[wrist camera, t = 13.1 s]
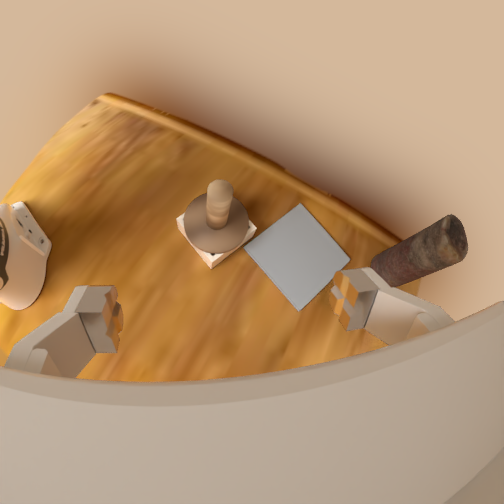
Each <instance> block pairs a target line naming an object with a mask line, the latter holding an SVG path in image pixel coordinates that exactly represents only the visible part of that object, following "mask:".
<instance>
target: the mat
mask: <svg viewBox="0 0 504 504" xmlns="http://www.w3.org/2000/svg"><path fill="white" fill-rule="evenodd" d="M244 249H245V250H246V252H247V253H248V254H249V255H250V256H251V257H252V259H253V260H254V261H255V262H256V263H257V264H258V266H259V267H260V268H261V269H262V270H263V271H264V272H265V274H266V275H267V276H268V277H269V278H270V279H271V281H272V282H273V283H274V284H275V285H276V286H277V287H278V289H279V290H280V291H281V292H282V293H283V294H284V296H285V297H286V298H287V299H288V300H289V301H290V302H291V304H292V305H293V306H294V307H295V308H296V309H297V310H298V311H300V310H301V309H302V308H303V307H304V306H305V305H306V304H307V303H309V302H310V301H311V300H312V299H313V298H314V297H315V296H316V295H317V294H318V293H319V292H320V291H321V290H322V289H323V288H324V287H325V286H326V285H327V284H328V283H329V282H330V281H331V279H332V278H333V277H334V274H335V272H336V271H340V270H341V269H342V268H343V267H344V266H345V265H346V264H347V263H348V262H349V261H350V259H349V257H348V256H347V255H346V254H345V253H344V251H343V250H342V249H341V248H340V247H339V246H338V244H337V243H336V242H335V241H334V240H333V239H332V237H331V236H330V235H329V234H328V233H327V232H326V231H325V230H324V228H323V227H322V226H321V225H320V224H319V223H318V222H317V221H316V219H315V218H314V217H313V216H312V215H311V214H310V213H309V212H308V211H307V210H306V208H305V207H304V206H303V205H302V204H301V203H300V204H299V205H297V206H296V207H295V208H294V209H292V210H291V211H290V212H288V213H287V214H286V215H284V216H283V217H282V218H281V219H279V220H278V221H277V222H275V223H274V224H273V225H271V226H270V227H269V228H268V229H266V230H265V231H264V232H262V233H261V234H260V235H259V236H257V237H256V238H255V239H253V240H252V241H251V242H249V243H248V244H247V245H246V246H244Z"/></svg>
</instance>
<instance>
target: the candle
mask: <svg viewBox="0 0 504 504" xmlns="http://www.w3.org/2000/svg"><path fill="white" fill-rule="evenodd" d="M467 251H468V243H467V238H466V234H465V230H464V227H463V225H462V223H461V221H460V220H459V219H458V218H457V217H456V216H454V215H452V214H451V215H447V216H445V217H444V218H442V219H441V220H439V221H437V222H436V223H434V224H432V225H431V226H429V227H427V228H425V229H423V230H422V231H420V232H418V233H417V234H415V235H413V236H411V237H409V238H408V239H406V240H404V241H402V242H400V243H398V244H397V245H395V246H393V247H391V248H389V249H387V250H385V251H383V252H382V253H380V254H378V255H376V256H375V257H374V258H373V259H372V262H371V268H372V269H373V270H374V271H375V272H376V273H377V274H378V275H379V276H380V277H381V278H382V279H383V280H384V281H385V282H386V283H387V284H388V285H389V286H390V287H391V288H392V287H397V286H400V285H403V284H406V283H408V282H411V281H413V280H416V279H419V278H421V277H424V276H426V275H429V274H431V273H434V272H436V271H439V270H442V269H444V268H446V267H449V266H451V265H454V264H456V263H458V262H461V261H462V260H463V259H464V258H465V256H466V254H467Z"/></svg>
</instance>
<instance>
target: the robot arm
mask: <svg viewBox="0 0 504 504" xmlns="http://www.w3.org/2000/svg"><path fill="white" fill-rule="evenodd" d="M43 241H44V242H43ZM42 242H43V243H42ZM51 246H52V244H51V241H50V240H49V239H48V237H47V236H46V234H45V233H44V232H43V230H42V229H41V227H40V226H39V225H38V223H37V222H36V220H35V219H34V217H33V216H32V214H31V213H30V211H29V210H28V208H27V206H26V205H25V204H24V203H23V202H17V203H14V204H13V205H11V206H10V205H9V204H1V205H0V303H3V304H5V305H6V306H8V307H10V308H11V309H14V310H22V309H25V308H27V307H28V306H30V305H31V304H32V303H33V302H34V301H35V299H36V298H37V297H38V295H39V293H40V291H41V289H42V286H43V283H44V279H45V273H46V262H47V258H48V256H49V253H50V250H51ZM333 282H334V284H335V285H334V287H333V288H332V289H331V290H330V295H329V303H330V307H331V309H332V311H333V312H334V313H335V314H337V315H339V316H340V317H339V321H340V323H341V324H342V326H343V327H344V329H345V330H346V331H350V330H356V329H361V328H364V329H365V330H367V331H368V332H370V333H371V334H373V335H374V336H376V337H377V338H379V339H380V340H382V341H383V342H385V343H386V344H388V345H389V346H387V347H383V348H380V349H377V350H373V351H370V352H366V353H362V354H358V355H355V356H351V357H346V358H342V359H338V360H334V361H329V362H325V363H320V364H315V365H310V366H305V367H300V368H294V369H289V370H283V371H277V372H270V373H263V374H256V375H249V376H240V377H231V378H221V379H209V380H194V381H172V382H124V381H102V380H88V379H77V378H76V376H77V375H78V374H79V373H80V372H81V371H82V369H83V368H84V367H85V366H86V365H87V364H88V362H89V361H90V360H91V359H92V358H93V357H94V356H95V354H96V353H117V351H118V346H119V341H120V338H119V335H118V334H119V333H120V332H121V331H122V328H123V312H122V308H121V305H120V304H119V303H118V302H117V301H116V300H117V297H118V294H117V290H116V287H115V286H114V285H90V286H89V285H82V286H76V287H75V289H74V291H73V292H72V294H71V296H70V298H69V300H68V302H67V304H66V306H65V308H64V310H63V311H62V313H57V314H56V315H54V316H53V317H51V318H50V319H49V320H47V321H46V322H44V323H43V324H42V325H40V326H39V327H37V328H36V329H35V330H33V331H32V332H31V333H29V334H28V335H27V336H25V337H24V338H23V339H21V340H20V341H19V342H17V343H16V344H15V345H14V347H13V349H12V351H11V353H10V355H9V357H8V359H7V361H6V364H5V366H4V367H3V366H0V504H504V301H500V302H497V303H495V304H494V305H491V306H490V307H487V308H485V309H483V310H481V311H479V312H477V313H475V314H472V315H470V316H468V317H466V318H463V319H461V320H459V321H456V322H455V321H454V320H453V319H452V318H451V317H450V316H449V315H448V314H447V313H446V312H445V311H444V310H443V309H442V308H441V307H440V306H437V305H435V304H432V303H430V302H428V301H425V300H423V299H421V298H419V297H416V296H414V295H411V294H409V293H407V292H404V291H402V290H399V289H397V288H395V287H392V288H391V287H390V286H389V285H388V284H387V283H386V282H385V281H384V280H383V279H382V278H381V277H380V276H379V275H378V274H377V273H376V272H375V271H374V270H373V269H372V268H370V267H364V268H358V269H350V270H342V271H336V272H335V274H334V277H333Z"/></svg>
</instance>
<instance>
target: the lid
mask: <svg viewBox="0 0 504 504" xmlns="http://www.w3.org/2000/svg"><path fill="white" fill-rule="evenodd" d="M248 228H249V217H248V214H247V211H246V209H245V207H244V206H243V204H242V203H241V202H240V201H239V200H238V199H236V198H235V197H233V187H232V185H231V184H230V183H229V182H228V181H226V180H221V179H219V180H215V181H213V182H211V183H210V184H209V186H208V189H207V193H206V194H203V195H200V196H199V197H197V198H196V199H194V200H193V201H192V202H191V203H190V204H189V206H188V207H187V209H186V212H185V215H184V229H185V233H186V236H187V238H188V239H189V241H190V242H191V243H192V244H193V245H194V246H195V247H196V248H198V249H199V250H201V251H204V252H207V253H211V254H222V253H226V252H229V251H231V250H233V249H235V248H236V247H238V246H239V245H240V244H241V243H242V241H243V240H244V238H245V236H246V234H247V231H248Z"/></svg>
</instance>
